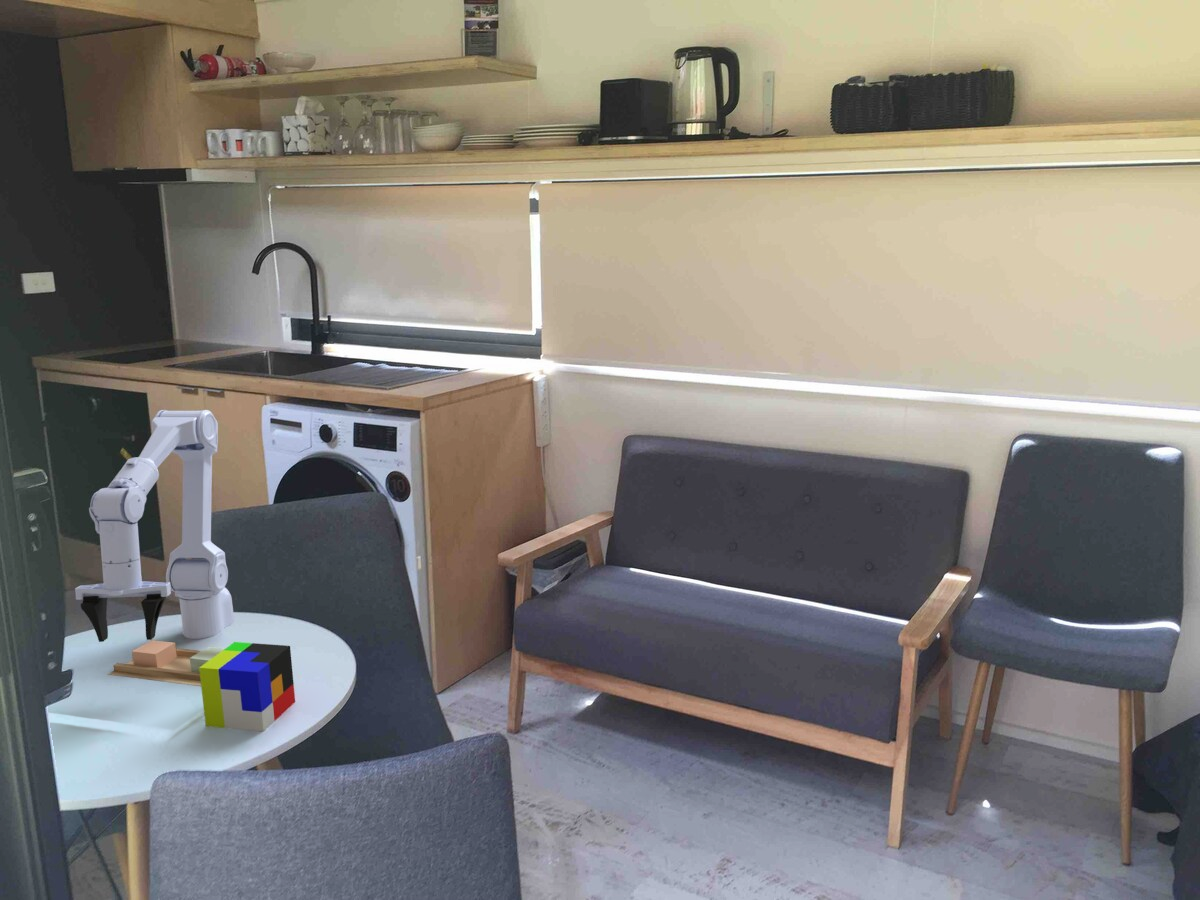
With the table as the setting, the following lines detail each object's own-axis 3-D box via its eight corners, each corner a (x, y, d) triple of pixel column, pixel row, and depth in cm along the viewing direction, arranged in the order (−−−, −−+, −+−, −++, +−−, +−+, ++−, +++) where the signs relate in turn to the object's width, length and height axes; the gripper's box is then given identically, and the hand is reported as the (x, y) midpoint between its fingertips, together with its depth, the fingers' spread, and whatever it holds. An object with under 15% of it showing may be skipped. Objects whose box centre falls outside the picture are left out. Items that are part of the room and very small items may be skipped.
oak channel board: (156, 652, 185) (153, 631, 184) (278, 666, 177) (276, 644, 177) (108, 680, 173) (105, 658, 172) (236, 696, 166) (234, 673, 165)
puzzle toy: (263, 731, 155) (257, 672, 152) (205, 726, 157) (199, 667, 154) (295, 702, 164) (290, 645, 162) (240, 697, 166) (234, 641, 164)
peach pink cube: (153, 655, 180) (151, 640, 180) (176, 658, 179) (175, 642, 178) (133, 667, 176) (131, 651, 175) (157, 670, 174) (155, 654, 174)
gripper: (64, 567, 159) (71, 648, 161) (158, 564, 161) (164, 644, 163) (82, 556, 166) (89, 634, 168) (172, 553, 168) (178, 631, 170)
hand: (127, 639), depth 166 cm, fingers open, 7 cm apart
